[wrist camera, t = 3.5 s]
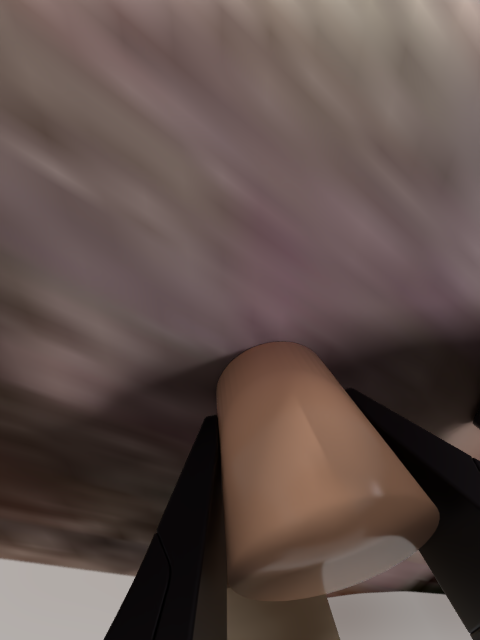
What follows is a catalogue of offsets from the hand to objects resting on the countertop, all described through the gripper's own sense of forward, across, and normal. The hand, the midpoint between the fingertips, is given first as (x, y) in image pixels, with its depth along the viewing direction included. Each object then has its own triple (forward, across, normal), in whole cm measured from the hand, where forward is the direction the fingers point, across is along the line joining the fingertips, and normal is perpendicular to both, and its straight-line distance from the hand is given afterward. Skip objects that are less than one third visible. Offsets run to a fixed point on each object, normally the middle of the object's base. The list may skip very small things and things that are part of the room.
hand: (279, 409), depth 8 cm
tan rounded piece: (+1, 0, 0) cm, 1 cm away
